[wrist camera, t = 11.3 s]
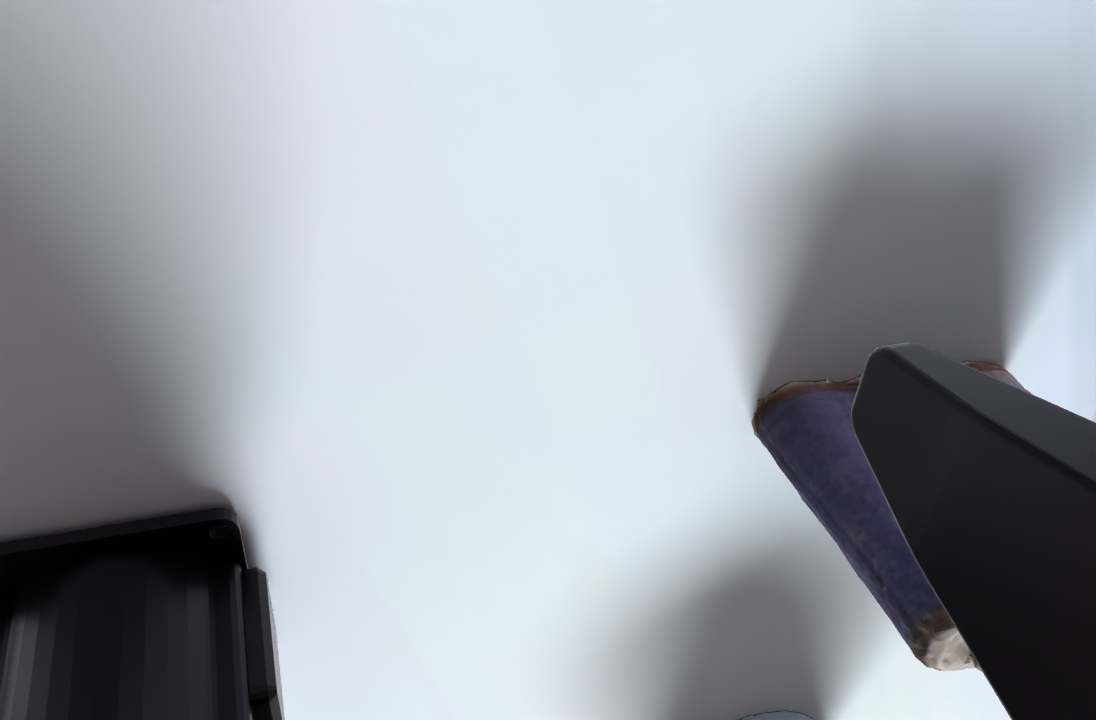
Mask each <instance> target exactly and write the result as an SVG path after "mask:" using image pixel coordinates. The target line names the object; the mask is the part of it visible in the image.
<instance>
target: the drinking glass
mask: <svg viewBox="0 0 1096 720" xmlns="http://www.w3.org/2000/svg"><path fill="white" fill-rule="evenodd" d="M741 720H813V719H811V718H810V717H808V716H806V715H803V714H800V713H795V712H789V711H779V712H770V713H762V714H759V715H756V716H754V715H750V716H748V717H745V718H743V719H741Z"/></svg>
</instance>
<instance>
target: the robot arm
mask: <svg viewBox="0 0 1096 720" xmlns="http://www.w3.org/2000/svg"><path fill="white" fill-rule="evenodd" d="M851 422H852V427H853V431H854V433H855V436H856V438H857V440H858V442H859V444H860V446H861V449H862V451H863V453H864V455H865V457H866V459H867V461H868V463H869V466H870V468H871V470H872V472H873V474H874V476H875V478H876V480H877V482H878V485H879V487H880V489H881V491H882V493H883V495H884V497H885V499H886V501H887V504H888V506H889V508H890V510H891V512H892V514H893V516H894V518H895V520H896V523H897V525H898V527H899V529H900V531H901V533H902V535H903V537H904V539H905V541H906V543H907V545H908V547H909V549H910V551H911V553H912V555H913V557H914V559H915V560H916V562H917V564H918V566H919V567H920V569H921V571H922V572H923V574H924V576H925V578H926V579H927V581H928V583H929V584H930V586H931V588H932V589H933V591H934V592H935V594H936V596H937V597H938V599H939V601H940V602H941V604H942V606H943V607H944V609H945V611H946V612H947V614H948V616H949V617H950V619H951V621H952V622H953V624H954V625H955V627H956V629H957V630H958V632H959V634H960V635H961V637H962V639H963V640H964V642H965V644H966V645H967V647H968V649H969V650H970V652H971V653H972V655H973V657H974V658H975V660H976V662H977V663H978V665H979V667H980V668H981V670H982V672H983V673H984V675H985V677H986V678H987V680H988V681H989V683H990V685H991V686H992V688H993V690H994V691H995V693H996V695H997V696H998V698H999V700H1000V701H1001V703H1002V705H1003V706H1004V708H1005V709H1006V711H1007V713H1008V714H1009V716H1010V718H1011V719H1012V720H1096V423H1095V422H1093V421H1090V420H1088V419H1086V418H1084V417H1081V416H1079V415H1077V414H1075V413H1072V412H1070V411H1068V410H1066V409H1064V408H1061V407H1059V406H1057V405H1055V404H1052V403H1050V402H1048V401H1046V400H1043V399H1041V398H1039V397H1037V396H1034V395H1032V394H1030V393H1028V392H1025V391H1023V390H1021V389H1019V388H1016V387H1014V386H1012V385H1010V384H1007V383H1005V382H1003V381H1001V380H998V379H996V378H994V377H992V376H989V375H987V374H985V373H983V372H980V371H978V370H976V369H974V368H971V367H969V366H967V365H965V364H962V363H960V362H958V361H956V360H953V359H951V358H949V357H947V356H944V355H942V354H940V353H938V352H935V351H933V350H931V349H929V348H926V347H924V346H922V345H920V344H917V343H913V342H904V343H897V344H891V345H884V346H879V347H877V348H875V349H874V350H873V351H872V352H871V353H870V355H869V356H868V358H867V361H866V364H865V367H864V370H863V374H862V377H861V380H860V383H859V386H858V389H857V392H856V395H855V399H854V402H853V405H852V409H851ZM216 526H225V527H223V528H213V527H216ZM0 720H285V718H284V708H283V698H282V688H281V677H280V667H279V657H278V647H277V637H276V627H275V621H274V616H273V610H272V604H271V598H270V593H269V587H268V581H267V575H266V573H265V572H264V571H263V570H261V569H260V568H258V567H255V568H249V569H248V564H247V559H246V553H245V548H244V543H243V538H242V532H241V527H240V522H239V518H238V516H237V514H236V513H235V512H234V511H232V510H230V509H227V508H214V509H207V510H201V511H195V512H189V513H183V514H177V515H171V516H164V517H158V518H152V519H146V520H140V521H134V522H128V523H121V524H115V525H109V526H103V527H97V528H91V529H85V530H78V531H72V532H66V533H60V534H54V535H48V536H42V537H35V538H29V539H23V540H17V541H11V542H5V543H0Z"/></svg>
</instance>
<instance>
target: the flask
mask: <svg viewBox="0 0 1096 720" xmlns="http://www.w3.org/2000/svg"><path fill="white" fill-rule="evenodd" d="M961 363H962V364H965V365H967V366H969V367H971V368H974V369H976V370H978V371H980V372H983V373H985V374H987V375H989V376H992V377H994V378H996V379H998V380H1001V381H1003V382H1005V383H1007V384H1010V385H1012V386H1014V387H1016V388H1019V389H1021V390H1023V391H1025V392H1028V393H1030V392H1029V391H1027V390H1026V389H1024V387H1023V386H1022V385H1021V384H1020V383H1019V382H1018V381H1017V380H1016V379H1015V378H1014V377H1013V376H1012V375H1011V374H1010V373H1009V372H1008V371H1007V370H1005V369H1004V368H1003V367H1001V366H997V365H992V364H988V363H984V362H978V363H975V362H969V361H968V362H961ZM861 377H862V376H861V375H860V376H859V377H857V378H853V379H852V380H850V381H848V382H846V383H835V382H832V381H828V378H827V379H826V380H825V381H821V382H817V383H816V382H790V383H788V384H786V385H785V386H783V387H781V388H779V389H778V390H776V393H774V392H773V393H771V394H770V395H769V396H768V397H766V398H764V399H761V400H759V401H758V404H759V407H758V409H757V411H756V413H754V418H753V420H752V426H753V429H754V434H755V436H757V437H758V438H759V439H760V440H761V442H762V444H763V445H764V446H765V447H766V448H767V449H768V451H769V452H770V454H771V455H772V457H773V458H774V460H775V461H776V463H777V465H778V466H779V467H780V469H781V470H782V471H783V473H784V474H785V475H786V477H787V478H788V479H789V480H790V482H791V483H792V484H793V486H794V487H795V488H796V490H797V491H798V493H799V494H800V496H801V498H802V500H803V501H804V502H805V503H806V505H807V506H808V507H809V508H810V509H811V511H812V512H813V513H814V514H815V516H816V517H817V518H818V520H819V521H820V522H821V523H822V525H823V526H824V527H825V529H826V530H827V531H828V532H829V534H830V535H831V536H832V538H833V539H834V540H835V541H836V543H837V544H838V546H839V547H840V549H841V550H842V552H843V554H844V555H845V557H846V558H847V560H848V561H849V563H850V564H851V566H852V567H853V569H854V570H855V572H856V573H857V575H858V576H859V577H860V579H861V580H862V581H863V582H864V584H865V585H866V586H867V588H868V589H869V590H870V592H871V593H872V595H873V596H874V597H875V599H876V600H877V602H878V603H879V604H880V606H881V607H882V609H883V610H884V611H885V613H886V614H887V615H888V617H889V618H890V619H891V621H892V622H893V624H894V625H895V627H896V629H897V630H898V632H899V633H900V635H901V636H902V638H903V639H904V640H905V642H906V643H907V644H908V646H909V647H910V649H911V650H912V652H913V654H914V656H915V657H916V658H917V659H918V660H919V661H921V662H922V663H923V664H924V665H925V666H926V667H930V668H934V669H937V670H940V671H941V670H942V671H952V670H962V669H966V668H977V669H978V670H980V671H982V670H981V668H980V667H979V665H978V663H977V662H976V660H975V658H974V657H973V655H972V653H971V652H970V650H969V649H968V647H967V645H966V644H965V642H964V640H963V639H962V637H961V635H960V634H959V632H958V630H957V629H956V627H955V625H954V624H953V622H952V621H951V619H950V617H949V616H948V614H947V612H946V611H945V609H944V607H943V606H942V604H941V602H940V601H939V599H938V597H937V596H936V594H935V592H934V591H933V589H932V588H931V586H930V584H929V583H928V581H927V579H926V578H925V576H924V574H923V572H922V571H921V569H920V567H919V566H918V564H917V562H916V560H915V559H914V557H913V555H912V553H911V551H910V549H909V547H908V545H907V543H906V541H905V539H904V537H903V535H902V533H901V531H900V529H899V527H898V525H897V523H896V520H895V518H894V516H893V514H892V512H891V510H890V508H889V506H888V504H887V501H886V499H885V497H884V495H883V493H882V491H881V489H880V487H879V485H878V482H877V480H876V478H875V476H874V474H873V472H872V470H871V468H870V466H869V463H868V461H867V459H866V457H865V455H864V453H863V451H862V449H861V446H860V444H859V442H858V440H857V438H856V436H855V433H854V431H853V427H852V422H851V409H852V405H853V402H854V399H855V395H856V392H857V389H858V386H859V383H860V380H861ZM1030 394H1031V393H1030Z"/></svg>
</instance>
